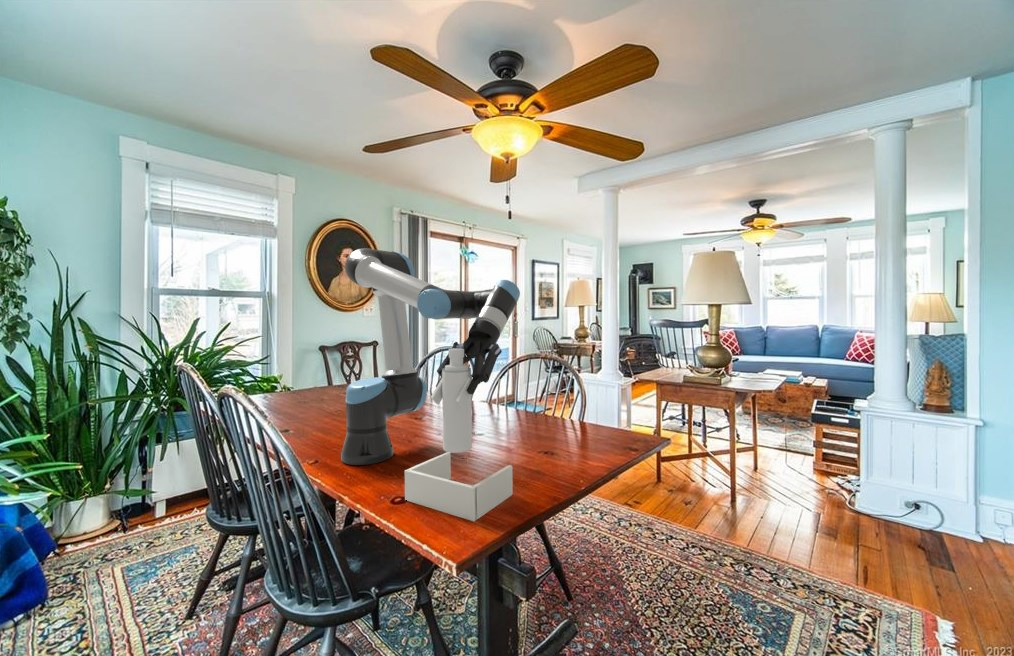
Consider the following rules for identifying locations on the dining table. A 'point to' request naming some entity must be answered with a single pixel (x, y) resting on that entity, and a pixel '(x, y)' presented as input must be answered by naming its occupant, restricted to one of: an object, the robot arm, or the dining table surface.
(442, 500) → the storage bay
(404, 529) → the dining table surface
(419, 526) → the dining table surface
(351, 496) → the dining table surface
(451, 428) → the white bottle
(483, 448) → the dining table surface
